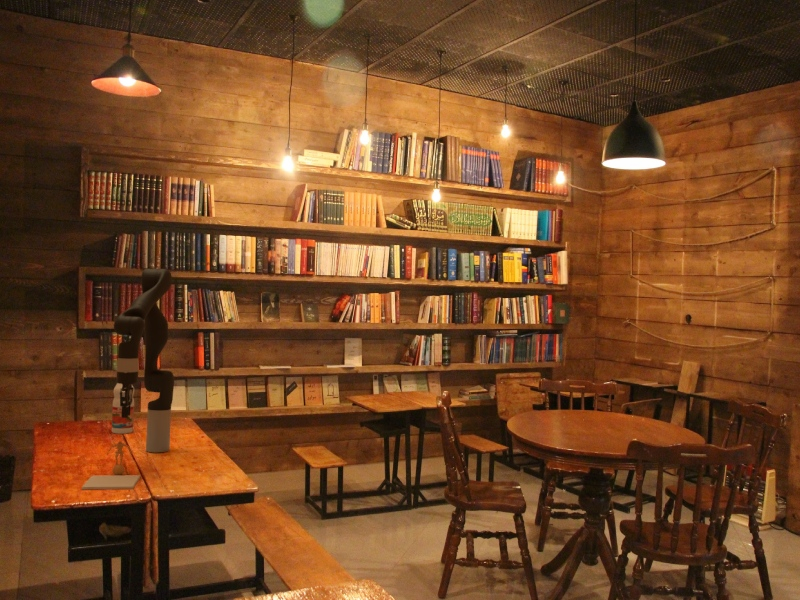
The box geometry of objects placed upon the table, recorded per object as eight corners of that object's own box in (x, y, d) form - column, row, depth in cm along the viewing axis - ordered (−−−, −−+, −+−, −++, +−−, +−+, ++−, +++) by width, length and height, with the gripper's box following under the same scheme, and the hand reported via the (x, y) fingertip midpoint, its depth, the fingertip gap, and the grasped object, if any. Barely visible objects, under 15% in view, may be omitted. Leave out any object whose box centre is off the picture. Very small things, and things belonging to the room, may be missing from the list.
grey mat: (92, 477, 249) (92, 475, 249) (140, 477, 252) (140, 475, 252) (81, 489, 234) (81, 487, 234) (132, 488, 237) (132, 486, 237)
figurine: (104, 477, 250) (106, 443, 250) (106, 473, 256) (108, 439, 256) (130, 476, 252) (131, 442, 252) (131, 472, 258) (132, 439, 258)
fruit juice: (136, 430, 335) (138, 371, 335) (128, 434, 325) (130, 373, 325) (116, 429, 335) (119, 370, 335) (107, 433, 326) (110, 372, 326)
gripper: (120, 368, 270) (118, 413, 270) (113, 372, 256) (111, 419, 256) (141, 368, 272) (139, 413, 272) (135, 372, 258) (133, 419, 258)
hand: (125, 416), depth 264 cm, fingers open, 4 cm apart
